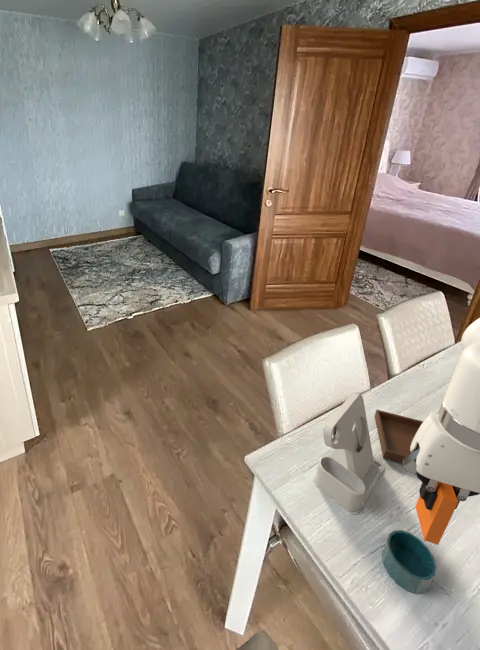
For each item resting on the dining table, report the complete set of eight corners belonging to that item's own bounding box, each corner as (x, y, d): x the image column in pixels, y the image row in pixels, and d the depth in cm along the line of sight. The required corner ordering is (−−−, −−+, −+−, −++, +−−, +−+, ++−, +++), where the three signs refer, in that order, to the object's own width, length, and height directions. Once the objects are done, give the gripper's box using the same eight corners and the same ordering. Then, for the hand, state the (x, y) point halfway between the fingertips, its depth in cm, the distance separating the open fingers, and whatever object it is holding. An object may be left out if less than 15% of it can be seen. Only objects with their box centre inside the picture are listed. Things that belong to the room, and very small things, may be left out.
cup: (421, 555, 66) (428, 539, 64) (433, 603, 60) (442, 587, 58) (378, 539, 69) (384, 524, 67) (385, 584, 62) (392, 568, 60)
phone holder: (354, 521, 72) (373, 461, 65) (309, 483, 79) (322, 426, 72) (385, 467, 82) (404, 411, 76) (343, 438, 89) (357, 385, 83)
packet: (428, 510, 61) (446, 468, 57) (438, 545, 56) (458, 502, 52) (415, 506, 62) (431, 464, 58) (423, 540, 57) (443, 497, 53)
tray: (429, 430, 92) (432, 423, 91) (446, 476, 80) (450, 469, 79) (374, 415, 96) (376, 409, 95) (383, 458, 85) (385, 451, 84)
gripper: (525, 418, 51) (483, 498, 58) (402, 390, 56) (377, 467, 63) (557, 464, 44) (505, 548, 51) (414, 428, 49) (385, 509, 56)
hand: (435, 503), depth 57 cm, fingers closed on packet, 2 cm apart
